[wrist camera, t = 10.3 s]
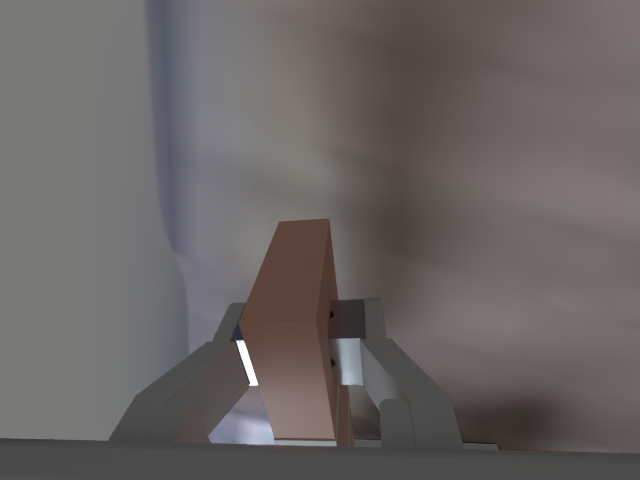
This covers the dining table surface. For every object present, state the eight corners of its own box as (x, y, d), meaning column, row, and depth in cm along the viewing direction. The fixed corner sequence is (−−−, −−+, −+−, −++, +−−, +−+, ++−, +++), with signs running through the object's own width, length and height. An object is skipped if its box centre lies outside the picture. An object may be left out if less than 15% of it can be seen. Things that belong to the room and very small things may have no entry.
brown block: (329, 218, 11) (316, 322, 7) (355, 448, 17) (356, 570, 13) (278, 221, 11) (236, 324, 7) (323, 448, 17) (314, 567, 13)
